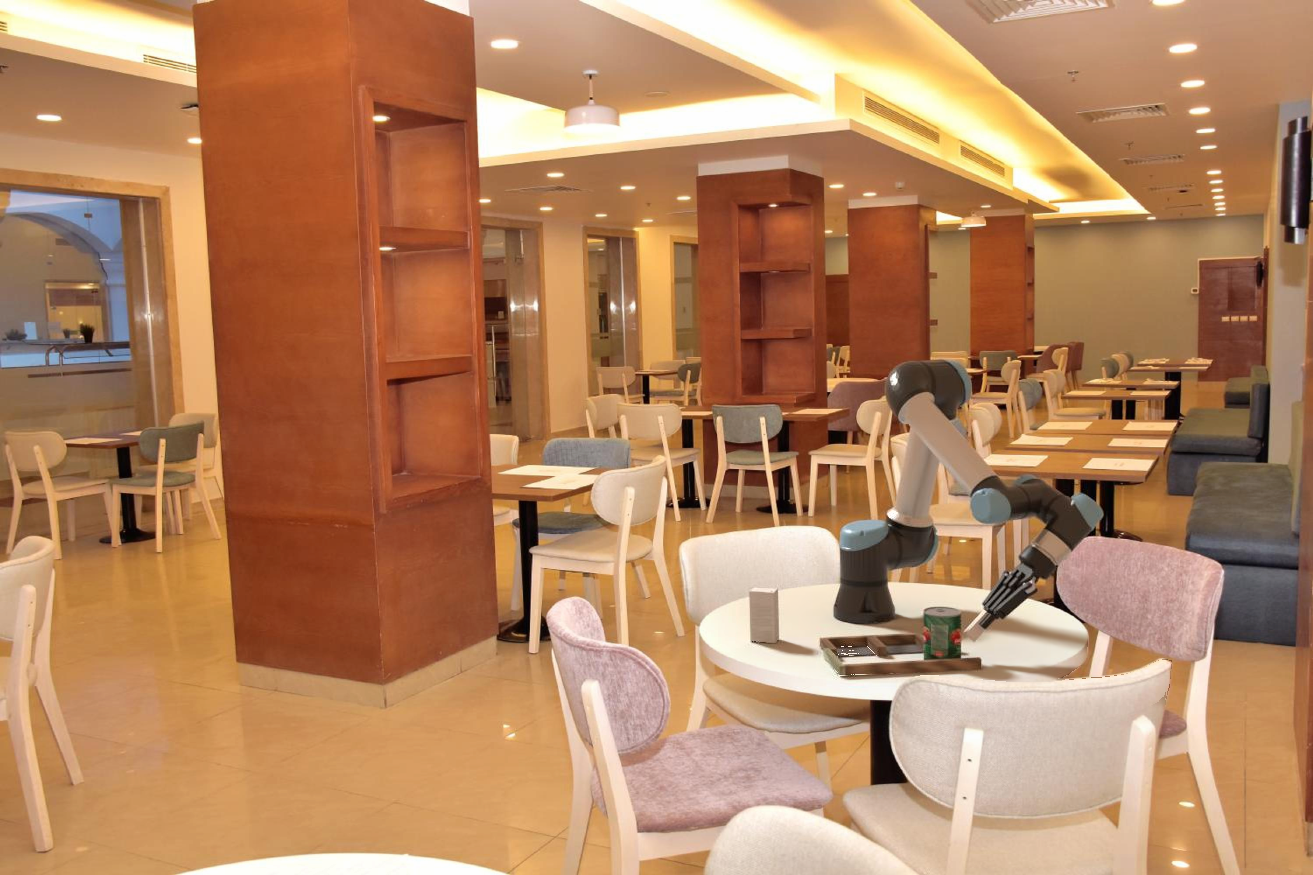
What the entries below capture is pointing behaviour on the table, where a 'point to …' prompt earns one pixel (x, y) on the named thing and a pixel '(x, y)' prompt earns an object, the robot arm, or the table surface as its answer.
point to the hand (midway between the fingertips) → (969, 636)
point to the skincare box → (764, 615)
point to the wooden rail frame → (888, 646)
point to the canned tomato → (942, 633)
